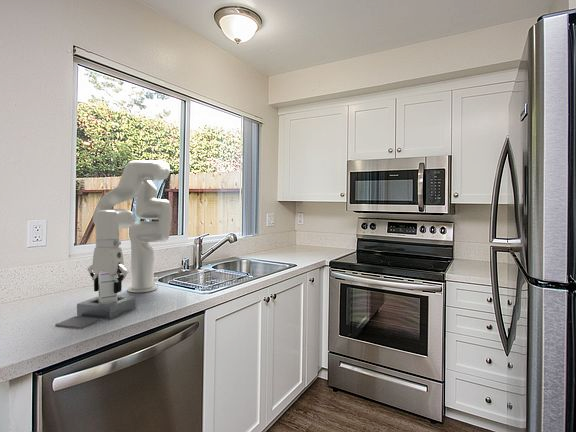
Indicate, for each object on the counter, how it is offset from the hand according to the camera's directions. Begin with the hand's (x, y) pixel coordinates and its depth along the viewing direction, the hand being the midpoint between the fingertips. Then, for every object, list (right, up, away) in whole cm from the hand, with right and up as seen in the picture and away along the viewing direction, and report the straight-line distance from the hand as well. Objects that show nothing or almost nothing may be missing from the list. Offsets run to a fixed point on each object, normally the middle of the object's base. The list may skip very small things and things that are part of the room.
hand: (107, 291), depth 123 cm
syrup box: (0, -7, 0) cm, 7 cm away
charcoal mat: (-4, -8, -11) cm, 14 cm away
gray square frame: (0, -8, 0) cm, 8 cm away
